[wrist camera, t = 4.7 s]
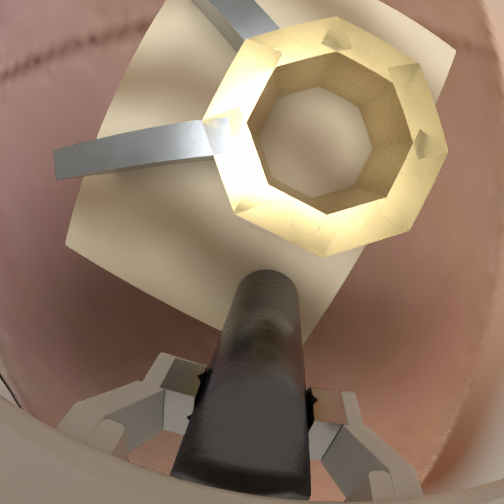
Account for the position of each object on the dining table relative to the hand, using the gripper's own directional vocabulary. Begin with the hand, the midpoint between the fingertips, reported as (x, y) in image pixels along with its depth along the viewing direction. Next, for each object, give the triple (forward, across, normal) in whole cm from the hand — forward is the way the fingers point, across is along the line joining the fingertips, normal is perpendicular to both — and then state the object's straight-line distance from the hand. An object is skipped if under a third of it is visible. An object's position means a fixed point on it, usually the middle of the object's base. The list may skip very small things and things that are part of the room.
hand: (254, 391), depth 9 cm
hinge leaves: (+7, +2, -9) cm, 12 cm away
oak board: (+9, +2, -8) cm, 12 cm away
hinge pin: (+7, 0, 0) cm, 7 cm away
